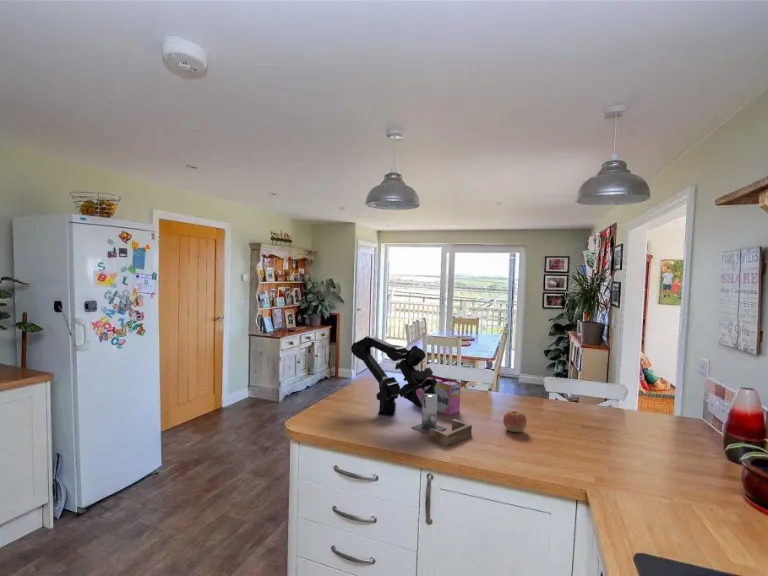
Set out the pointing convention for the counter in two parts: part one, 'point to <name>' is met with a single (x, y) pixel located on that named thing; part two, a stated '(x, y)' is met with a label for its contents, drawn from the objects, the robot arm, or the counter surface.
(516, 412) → the apple
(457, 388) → the gum box
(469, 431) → the walnut rack
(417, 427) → the rubber mat
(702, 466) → the counter surface
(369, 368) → the robot arm
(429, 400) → the steel tin
